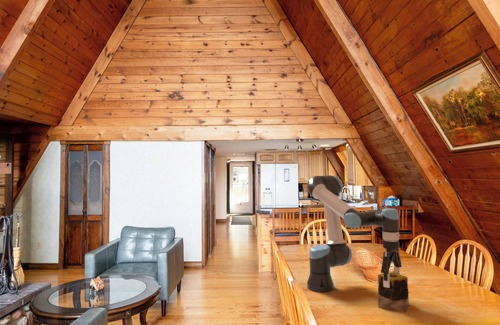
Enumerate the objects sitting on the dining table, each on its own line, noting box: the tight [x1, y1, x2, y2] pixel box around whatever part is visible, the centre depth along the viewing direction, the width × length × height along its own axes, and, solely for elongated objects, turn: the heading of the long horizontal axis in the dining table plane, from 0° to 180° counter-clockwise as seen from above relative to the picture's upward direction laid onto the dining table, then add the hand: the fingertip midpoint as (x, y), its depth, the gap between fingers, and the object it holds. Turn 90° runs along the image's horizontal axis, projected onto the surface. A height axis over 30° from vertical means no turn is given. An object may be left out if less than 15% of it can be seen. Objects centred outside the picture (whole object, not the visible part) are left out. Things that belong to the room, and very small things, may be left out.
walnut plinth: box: [377, 295, 410, 313], centre depth 162 cm, size 12×12×5 cm
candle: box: [377, 271, 409, 301], centre depth 163 cm, size 10×10×10 cm
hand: (391, 283), depth 163 cm, fingers open, 13 cm apart
